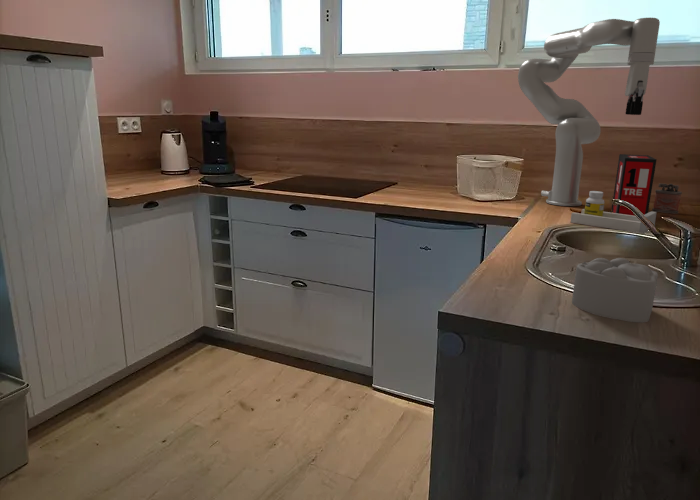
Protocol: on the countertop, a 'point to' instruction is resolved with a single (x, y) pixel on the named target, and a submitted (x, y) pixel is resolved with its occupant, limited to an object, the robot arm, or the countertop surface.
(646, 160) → the cleaning product box
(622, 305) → the lumpy-topped squat cylinder
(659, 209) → the lighter
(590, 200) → the supplement bottle
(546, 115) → the robot arm
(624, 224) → the u rest
